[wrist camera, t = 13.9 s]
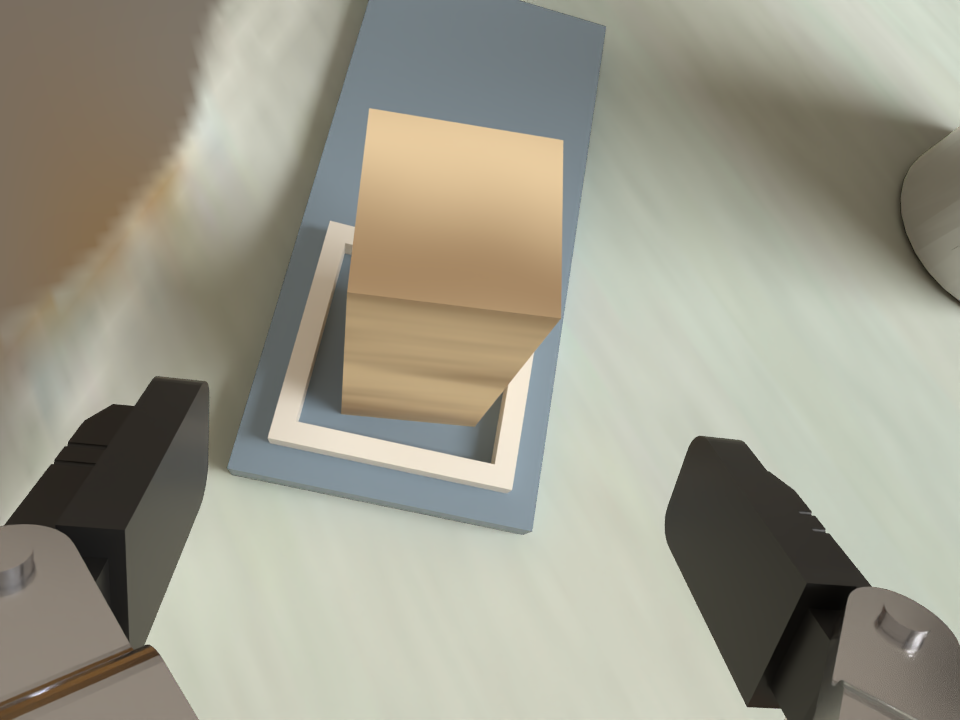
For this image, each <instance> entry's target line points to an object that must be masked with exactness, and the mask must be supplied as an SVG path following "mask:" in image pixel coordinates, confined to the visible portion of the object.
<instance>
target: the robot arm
mask: <svg viewBox="0 0 960 720" xmlns="http://www.w3.org/2000/svg"><path fill="white" fill-rule="evenodd" d="M901 212H902V218H903V222H904V226H905V230H906V234H907V236H908V238H909V240H910V242H911V244H912V247H913V249H914V251H915V253H916V255H917V256H918V258H919V259H920V261H921V262H922V263H923V265H924V266H925V268H926V269H927V271H928V272H929V273H930V274H931V275H932V276H933V278H934V279H935V280H936V281H937V282H938V283H939V284H940V285H941V286H942V287H943V288H944V289H945V290H946V291H948V292H949V293H950V294H951V295H953V296H954V297H955V298H956V299H958V300H959V301H960V126H959V127H958V128H957V129H955V130H954V131H953V132H951V133H950V134H949V135H947V136H946V137H945V138H944V139H942V140H941V141H940V142H938V143H937V144H936V145H934V146H933V147H932V148H930V149H929V150H928V151H927V152H925V153H924V154H923V155H921V156H920V157H919V158H918V159H917V160H916V161H915V163H914V164H913V165H912V166H911V167H910V169H909V171H908V173H907V175H906V177H905V179H904V182H903V187H902V193H901ZM208 436H209V386H208V383H207V382H206V381H197V380H188V379H179V378H169V377H160V376H156V377H154V378H153V379H152V381H151V382H150V384H149V385H148V387H147V388H146V390H145V391H144V393H143V394H142V396H141V397H140V399H139V400H138V402H137V403H136V405H135V406H127V405H117V404H112V405H111V406H109V407H107V408H106V409H104V410H102V411H100V412H99V413H97V414H95V415H93V416H92V417H90V418H88V419H86V420H85V421H84V422H83V423H82V424H81V426H80V427H79V428H78V430H77V431H76V432H75V434H74V435H73V436H72V438H71V439H70V440H69V441H68V446H65V447H64V448H63V449H62V451H61V452H60V453H59V455H58V456H57V457H56V458H55V461H54V464H51V465H50V466H49V468H48V469H47V470H46V471H45V473H44V474H43V475H42V477H41V478H40V479H39V481H38V482H37V483H36V485H35V486H34V487H33V488H32V490H31V491H30V492H29V494H28V495H27V496H26V498H25V499H24V500H23V502H22V503H21V504H20V505H19V507H18V508H17V509H16V511H15V512H14V513H13V515H12V516H11V517H10V518H9V520H8V521H7V522H6V524H5V525H4V526H0V720H198V718H197V716H196V714H195V713H194V711H193V709H192V708H191V706H190V704H189V703H188V701H187V699H186V697H185V696H184V694H183V692H182V691H181V689H180V687H179V686H178V684H177V682H176V681H175V679H174V677H173V675H172V674H171V672H170V670H169V669H168V667H167V665H166V664H165V662H164V660H163V659H162V657H161V656H160V654H159V653H158V652H157V650H156V649H155V648H153V647H152V646H150V645H144V644H145V642H146V640H147V637H148V635H149V632H150V630H151V627H152V625H153V622H154V620H155V617H156V615H157V612H158V610H159V607H160V605H161V602H162V600H163V598H164V595H165V593H166V590H167V588H168V585H169V583H170V580H171V578H172V575H173V573H174V570H175V568H176V565H177V563H178V560H179V558H180V555H181V553H182V551H183V548H184V546H185V543H186V541H187V538H188V536H189V533H190V531H191V528H192V526H193V523H194V521H195V518H196V516H197V513H198V511H199V509H200V506H201V503H202V500H203V496H204V491H205V486H206V480H207V471H208ZM665 535H666V540H667V544H668V546H669V548H670V550H671V552H672V554H673V556H674V558H675V561H676V563H677V565H678V567H679V569H680V571H681V573H682V575H683V577H684V579H685V581H686V583H687V585H688V587H689V589H690V591H691V593H692V595H693V597H694V599H695V601H696V604H697V606H698V608H699V610H700V612H701V614H702V616H703V618H704V620H705V622H706V624H707V626H708V628H709V630H710V632H711V634H712V636H713V638H714V640H715V642H716V644H717V647H718V649H719V651H720V653H721V655H722V657H723V659H724V661H725V663H726V665H727V667H728V669H729V671H730V673H731V675H732V677H733V679H734V681H735V683H736V685H737V687H738V690H739V692H740V694H741V696H742V698H743V700H744V702H745V704H746V706H747V707H757V708H780V709H782V711H783V713H784V715H785V719H784V720H960V645H959V643H958V640H957V639H956V637H955V636H954V634H953V633H952V631H951V630H950V629H949V628H948V626H947V625H946V624H945V623H944V622H943V621H942V620H941V619H939V618H938V617H937V616H936V615H935V614H933V613H932V612H931V611H929V610H928V609H926V608H925V607H924V606H922V605H920V604H919V603H917V602H915V601H914V600H912V599H910V598H908V597H906V596H903V595H901V594H898V593H896V592H893V591H890V590H887V589H882V588H877V587H872V586H871V585H870V584H869V582H868V581H867V580H866V579H865V578H864V576H863V575H862V574H861V573H860V571H859V570H858V569H857V568H856V566H855V565H854V564H853V563H852V561H851V560H850V559H849V558H848V556H847V555H846V554H845V553H844V551H843V550H842V549H841V548H840V546H839V545H838V544H837V543H836V541H835V540H834V539H833V538H832V536H831V535H830V534H828V533H825V528H824V526H823V525H822V524H821V523H820V522H819V520H818V519H817V518H816V517H815V516H812V515H811V510H810V509H809V508H808V507H807V505H806V504H805V503H804V502H803V500H802V499H801V498H800V497H799V495H798V494H797V493H796V492H795V491H794V490H793V489H792V488H790V487H789V486H788V485H786V484H785V483H784V482H782V481H781V480H780V479H778V478H777V477H776V476H774V475H773V474H772V473H771V472H769V471H767V470H766V469H765V468H764V466H763V465H762V464H761V463H760V461H759V460H758V459H757V457H756V456H755V455H754V454H753V452H752V451H751V450H750V448H749V447H748V446H747V445H746V444H745V442H743V441H741V440H734V439H725V438H715V437H706V436H698V437H696V438H695V439H694V440H693V441H692V442H691V444H690V446H689V448H688V451H687V453H686V456H685V459H684V462H683V465H682V468H681V470H680V473H679V476H678V479H677V482H676V484H675V487H674V490H673V493H672V496H671V499H670V501H669V504H668V507H667V511H666V516H665Z"/></svg>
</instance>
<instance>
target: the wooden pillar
mask: <svg viewBox="0 0 960 720" xmlns="http://www.w3.org/2000/svg"><path fill="white" fill-rule="evenodd" d="M562 209H563V140H559V139H553V138H547V137H541V136H535V135H529V134H523V133H517V132H510V131H504V130H498V129H492V128H486V127H480V126H474V125H468V124H462V123H456V122H450V121H444V120H438V119H432V118H426V117H420V116H414V115H407V114H401V113H395V112H389V111H383V110H377V109H371V108H369V114H368V123H367V131H366V139H365V148H364V156H363V164H362V173H361V181H360V189H359V197H358V206H357V214H356V222H355V231H354V239H353V247H352V256H351V264H350V272H349V281H348V289H347V304H346V325H345V345H344V366H343V386H342V406H341V414H344V415H354V416H365V417H375V418H386V419H396V420H407V421H418V422H428V423H439V424H449V425H460V426H470V427H475V426H476V424H477V423H478V422H479V421H480V419H481V418H482V417H483V416H484V414H485V413H486V412H487V411H488V409H489V408H490V407H491V406H492V404H493V403H494V402H495V401H496V399H497V398H498V397H499V396H500V394H501V393H502V392H503V391H504V389H505V388H506V387H507V386H508V384H509V383H510V382H511V381H512V379H513V378H514V377H515V376H516V374H517V373H518V372H519V371H520V369H521V368H522V367H523V366H524V364H525V363H526V362H527V361H528V359H529V358H530V357H531V356H532V354H533V353H534V352H535V351H536V349H537V348H538V347H539V346H540V344H541V343H542V342H543V341H544V339H545V338H546V337H547V336H548V334H549V333H550V332H551V331H552V329H553V328H554V327H555V325H556V324H557V323H558V322H559V320H560V319H561V291H562Z"/></svg>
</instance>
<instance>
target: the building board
mask: <svg viewBox="0 0 960 720" xmlns="http://www.w3.org/2000/svg"><path fill="white" fill-rule="evenodd" d="M605 31H606V26H603V25H600V24H596V23H593V22H590V21H586V20H583V19H580V18H576V17H573V16H570V15H566V14H563V13H560V12H556V11H553V10H550V9H546V8H543V7H540V6H536V5H533V4H530V3H526V2H523V1H520V0H369V2H368V5H367V8H366V12H365V15H364V18H363V22H362V25H361V28H360V31H359V35H358V38H357V41H356V45H355V48H354V51H353V54H352V58H351V61H350V64H349V68H348V71H347V74H346V78H345V81H344V84H343V87H342V91H341V94H340V97H339V101H338V104H337V107H336V111H335V114H334V117H333V120H332V124H331V127H330V130H329V134H328V137H327V140H326V143H325V147H324V150H323V153H322V157H321V160H320V163H319V167H318V170H317V173H316V176H315V180H314V183H313V186H312V190H311V193H310V196H309V200H308V203H307V206H306V209H305V213H304V216H303V219H302V223H301V226H300V229H299V232H298V236H297V239H296V242H295V246H294V249H293V252H292V256H291V259H290V262H289V265H288V269H287V272H286V275H285V279H284V282H283V285H282V289H281V292H280V295H279V298H278V302H277V305H276V308H275V312H274V315H273V318H272V322H271V325H270V328H269V331H268V335H267V338H266V341H265V345H264V348H263V351H262V354H261V358H260V361H259V364H258V368H257V371H256V374H255V378H254V381H253V384H252V387H251V391H250V394H249V397H248V401H247V404H246V407H245V411H244V414H243V417H242V420H241V424H240V427H239V430H238V434H237V437H236V440H235V443H234V447H233V450H232V453H231V457H230V460H229V463H228V467H227V469H228V470H229V471H230V473H231V474H232V475H236V476H241V477H246V478H251V479H255V480H260V481H265V482H270V483H275V484H280V485H285V486H289V487H294V488H299V489H304V490H309V491H314V492H319V493H323V494H328V495H333V496H338V497H343V498H348V499H352V500H357V501H362V502H367V503H372V504H377V505H382V506H386V507H391V508H396V509H401V510H406V511H411V512H416V513H420V514H425V515H430V516H435V517H440V518H445V519H449V520H454V521H459V522H464V523H469V524H474V525H479V526H483V527H488V528H493V529H498V530H503V531H508V532H512V533H517V534H522V535H524V534H526V533H529V532H532V528H533V521H534V514H535V508H536V501H537V494H538V487H539V480H540V473H541V467H542V460H543V453H544V446H545V439H546V433H547V426H548V419H549V412H550V405H551V399H552V392H553V385H554V378H555V371H556V364H557V358H558V351H559V344H560V337H561V330H562V324H563V317H564V310H565V303H566V296H567V290H568V283H569V276H570V269H571V262H572V256H573V249H574V242H575V235H576V228H577V221H578V215H579V208H580V201H581V194H582V187H583V181H584V174H585V167H586V160H587V153H588V147H589V140H590V133H591V126H592V119H593V112H594V106H595V99H596V92H597V85H598V78H599V72H600V65H601V58H602V51H603V44H604V38H605ZM369 108H371V109H377V110H383V111H389V112H395V113H401V114H407V115H414V116H420V117H426V118H432V119H438V120H444V121H450V122H456V123H462V124H468V125H474V126H480V127H486V128H492V129H498V130H504V131H510V132H517V133H523V134H529V135H535V136H541V137H547V138H553V139H559V140H563V209H562V291H561V319H560V320H559V322H558V323H557V324H556V325H555V327H554V328H553V329H552V331H551V332H550V333H549V334H548V336H547V337H546V338H545V339H544V341H543V342H542V343H541V344H540V346H539V347H538V348H537V349H536V351H535V352H534V353H533V354H532V356H531V357H530V358H529V359H528V361H527V362H526V363H525V364H524V366H523V367H522V368H521V369H520V371H519V372H518V373H517V374H516V376H515V377H514V378H513V379H512V381H511V382H510V383H509V384H508V386H507V387H506V388H505V389H504V391H503V392H502V393H501V394H500V396H499V397H498V398H497V399H496V401H495V402H494V403H493V404H492V406H491V407H490V408H489V409H488V411H487V412H486V413H485V414H484V416H483V417H482V418H481V419H480V421H479V422H478V423H477V424H476V426H475V427H470V426H460V425H449V424H439V423H428V422H418V421H407V420H396V419H386V418H375V417H365V416H354V415H344V414H341V406H342V386H343V366H344V345H345V325H346V304H347V289H348V281H349V272H350V264H351V256H352V247H353V239H354V231H355V222H356V214H357V206H358V197H359V189H360V181H361V173H362V164H363V156H364V148H365V139H366V131H367V123H368V114H369Z"/></svg>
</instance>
